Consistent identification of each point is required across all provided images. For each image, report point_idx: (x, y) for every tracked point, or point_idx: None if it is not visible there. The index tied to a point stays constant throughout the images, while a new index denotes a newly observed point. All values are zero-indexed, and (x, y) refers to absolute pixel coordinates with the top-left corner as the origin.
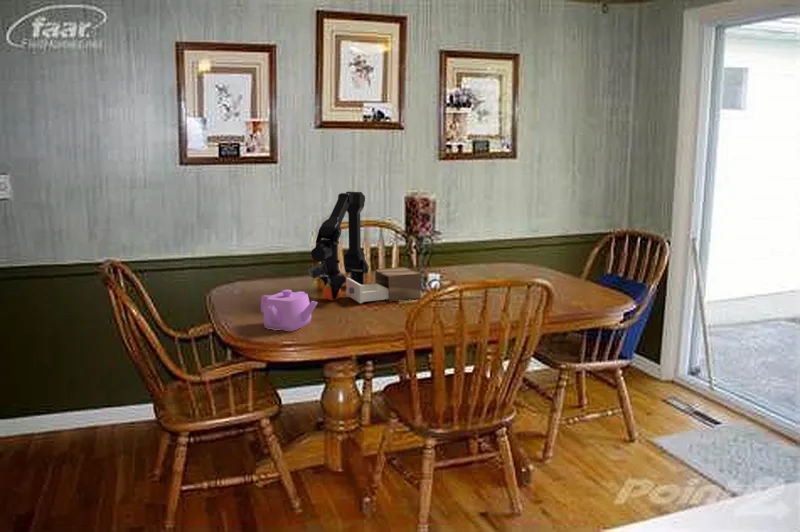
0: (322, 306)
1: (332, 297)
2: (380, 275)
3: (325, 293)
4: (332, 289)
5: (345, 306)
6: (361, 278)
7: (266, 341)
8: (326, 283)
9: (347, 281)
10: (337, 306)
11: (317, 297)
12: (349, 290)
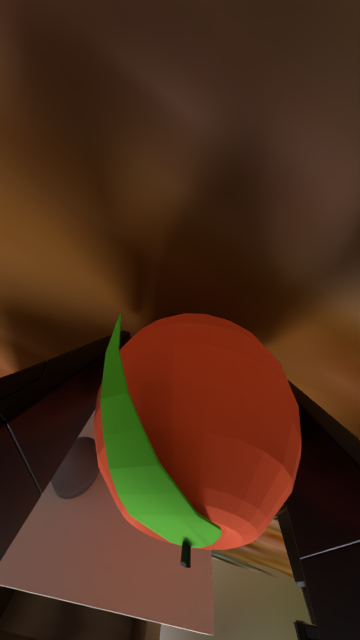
0: (49, 175)
1: (120, 335)
2: (144, 620)
3: (173, 321)
4: (4, 384)
5: (15, 321)
6: (296, 571)
7: None
8: (352, 503)
9: (184, 568)
10: (23, 284)
11: (344, 316)
12: (92, 461)
